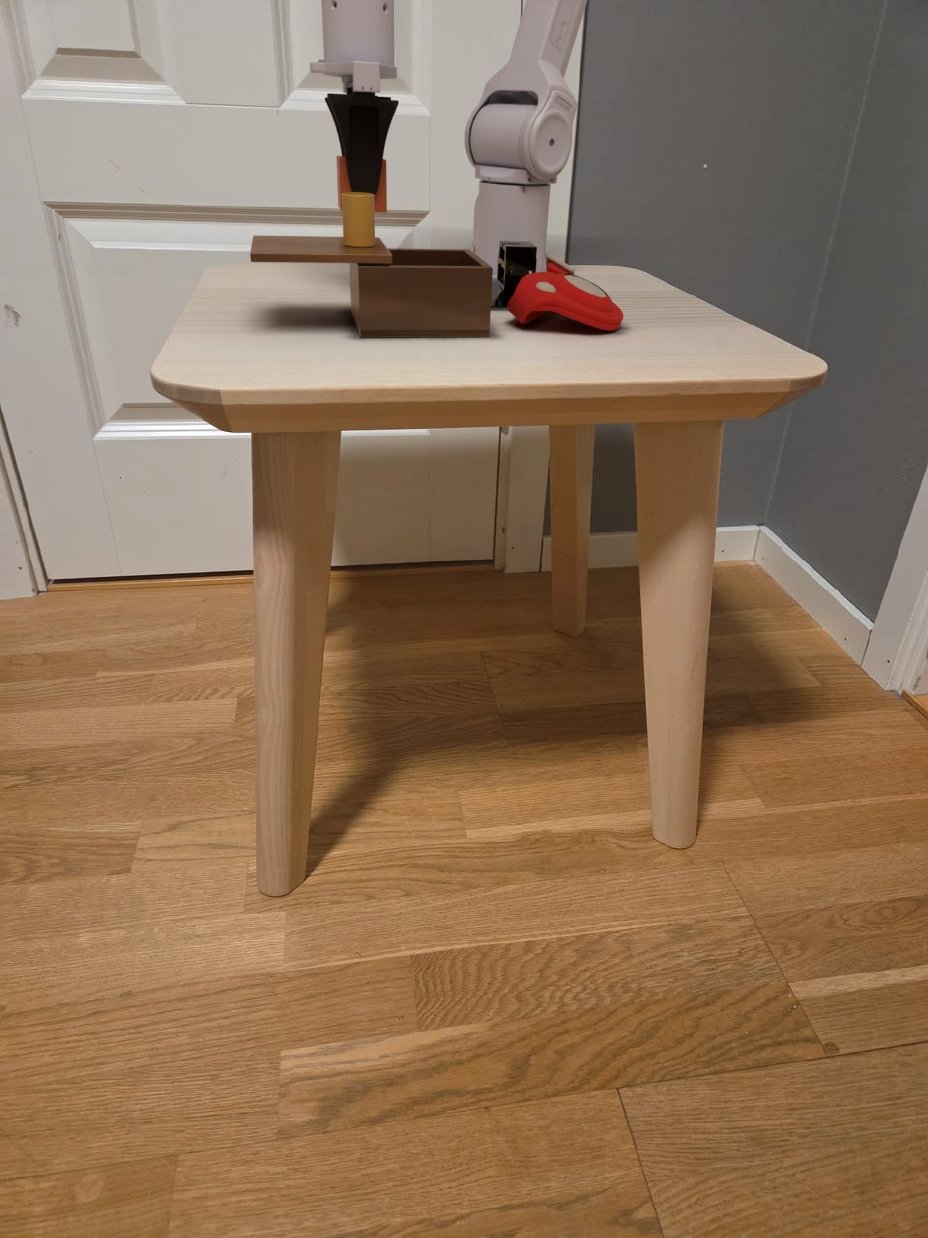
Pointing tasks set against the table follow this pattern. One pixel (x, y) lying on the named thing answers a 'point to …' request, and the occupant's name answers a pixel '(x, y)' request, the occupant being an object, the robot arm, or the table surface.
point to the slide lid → (330, 239)
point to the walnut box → (422, 294)
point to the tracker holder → (563, 297)
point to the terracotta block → (344, 186)
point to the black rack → (511, 270)
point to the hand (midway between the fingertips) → (362, 191)
